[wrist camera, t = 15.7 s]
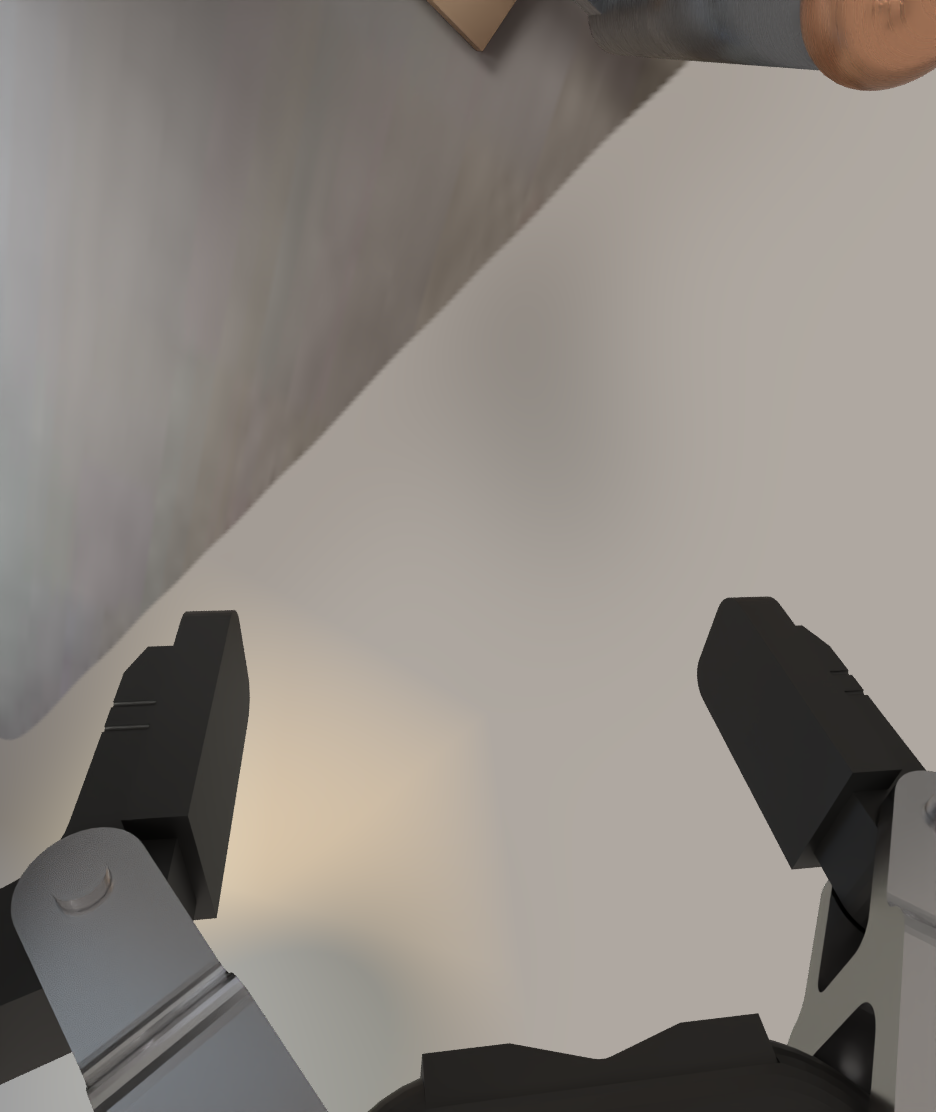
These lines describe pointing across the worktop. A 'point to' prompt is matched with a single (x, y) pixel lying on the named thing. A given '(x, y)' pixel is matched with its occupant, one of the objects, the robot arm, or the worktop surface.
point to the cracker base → (474, 18)
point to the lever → (778, 35)
